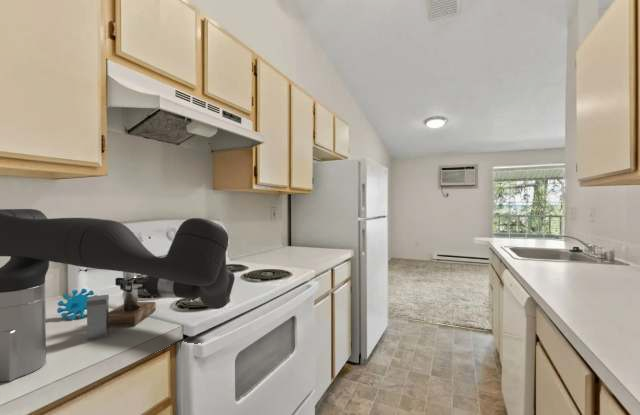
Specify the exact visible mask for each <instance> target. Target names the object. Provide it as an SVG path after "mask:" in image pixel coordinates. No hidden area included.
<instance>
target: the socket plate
mask: <svg viewBox="0 0 640 415" xmlns="http://www.w3.org/2000/svg"><path fill="white" fill-rule="evenodd" d="M155 310H156V311H157V308H156V301H138V308H137V309H134V310H128V311H126V310H124V303H122V304H121V305H119V306H117V307H116V308H113V309H112V310H110V311H109V328H111V327H136V326H137V325H139V324H140V323H142V321H144V320H145V319H148V317H149V316H151V315H152V314H154V313H155V312H156V311H155ZM154 311H155V312H154ZM153 312H154V313H153Z"/></svg>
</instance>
